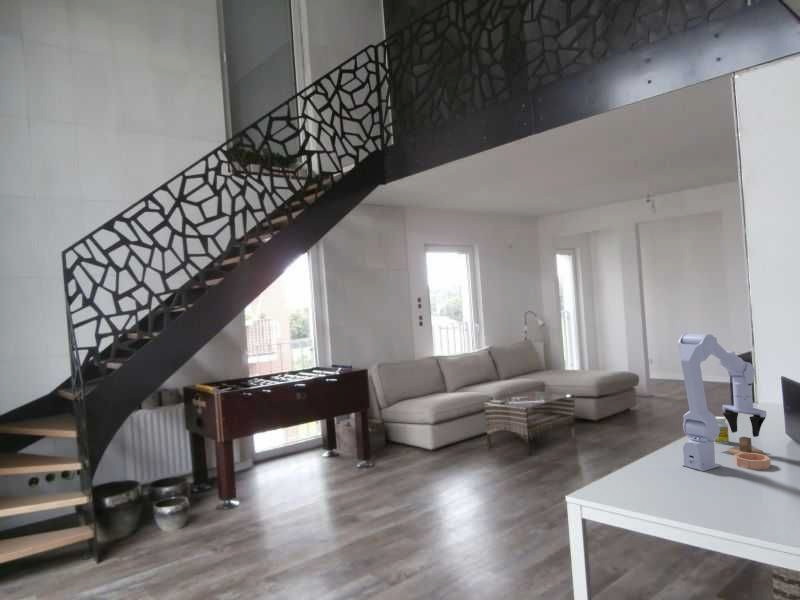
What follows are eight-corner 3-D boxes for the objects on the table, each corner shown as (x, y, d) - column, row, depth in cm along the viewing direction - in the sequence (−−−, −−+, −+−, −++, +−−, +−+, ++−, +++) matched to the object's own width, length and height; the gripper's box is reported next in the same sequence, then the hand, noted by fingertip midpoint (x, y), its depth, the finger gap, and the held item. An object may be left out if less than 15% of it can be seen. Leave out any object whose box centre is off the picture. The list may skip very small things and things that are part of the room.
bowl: (758, 472, 178) (757, 462, 178) (728, 464, 186) (728, 455, 186) (776, 466, 182) (775, 457, 182) (746, 459, 190) (746, 451, 190)
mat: (751, 460, 190) (751, 459, 190) (720, 453, 199) (720, 452, 199) (771, 454, 194) (771, 454, 194) (740, 448, 204) (740, 447, 204)
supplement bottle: (722, 440, 216) (720, 415, 216) (732, 443, 210) (730, 418, 210) (709, 441, 215) (708, 416, 215) (719, 445, 210) (717, 419, 210)
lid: (751, 459, 190) (750, 443, 190) (721, 452, 199) (721, 437, 199) (770, 454, 194) (769, 438, 194) (740, 447, 204) (739, 432, 204)
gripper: (771, 396, 192) (773, 436, 192) (730, 391, 205) (732, 428, 205) (758, 399, 189) (760, 439, 189) (717, 394, 202) (719, 431, 202)
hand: (744, 434), depth 197 cm, fingers open, 7 cm apart
